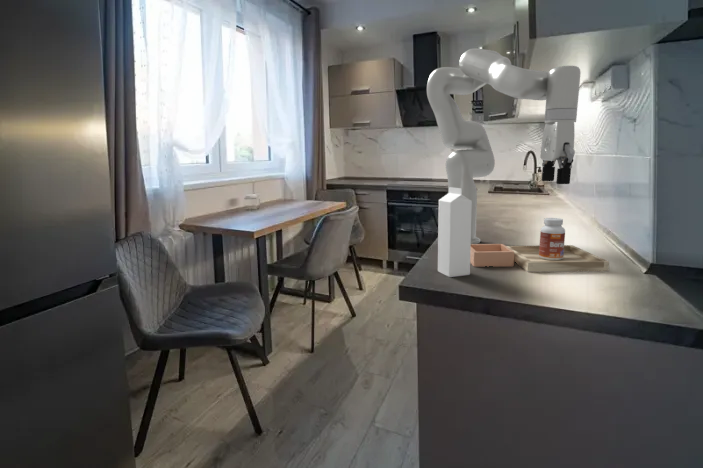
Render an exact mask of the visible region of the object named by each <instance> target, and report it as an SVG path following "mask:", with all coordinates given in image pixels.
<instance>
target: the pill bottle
mask: <svg viewBox="0 0 703 468" xmlns="http://www.w3.org/2000/svg"><path fill="white" fill-rule="evenodd" d="M563 222H564V219H563V218H560V217H559V218H558V217H546V218H543V224H544V225H543V226H542V227H541V228H540V231H539V232H540V233H539V246H540V247H539V257H540V258H542V259H546V260H561V259H563V255H564V245H565V239H566V229H565V227H563V224H564V223H563Z"/></svg>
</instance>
